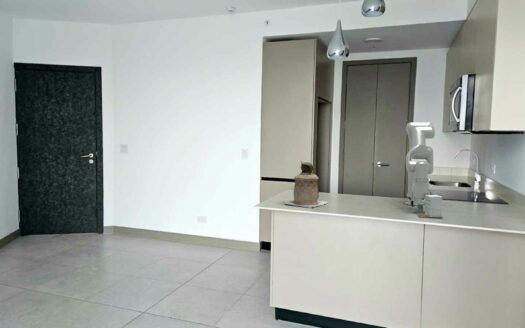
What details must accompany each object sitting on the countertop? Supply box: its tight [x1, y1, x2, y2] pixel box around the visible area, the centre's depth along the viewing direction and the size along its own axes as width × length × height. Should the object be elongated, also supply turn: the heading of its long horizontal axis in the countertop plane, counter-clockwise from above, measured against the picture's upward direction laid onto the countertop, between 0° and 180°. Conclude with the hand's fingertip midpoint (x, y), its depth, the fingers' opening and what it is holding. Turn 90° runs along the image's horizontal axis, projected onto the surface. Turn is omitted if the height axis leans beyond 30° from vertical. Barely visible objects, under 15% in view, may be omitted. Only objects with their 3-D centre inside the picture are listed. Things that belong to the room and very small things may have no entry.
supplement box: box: [424, 194, 443, 218], centre depth 228 cm, size 7×7×13 cm
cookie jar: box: [284, 161, 328, 209], centre depth 272 cm, size 25×25×32 cm
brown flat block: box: [415, 204, 444, 220], centre depth 232 cm, size 17×13×6 cm
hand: (420, 207), depth 239 cm, fingers open, 9 cm apart
